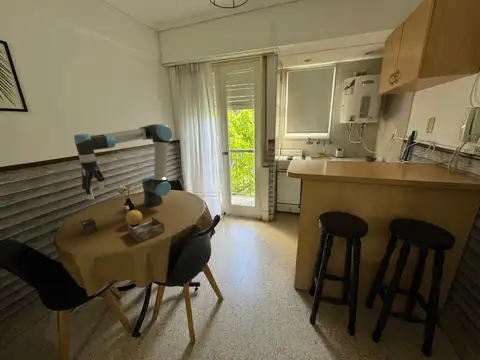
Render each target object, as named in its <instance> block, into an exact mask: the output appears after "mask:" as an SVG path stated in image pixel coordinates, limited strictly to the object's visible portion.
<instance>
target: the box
mask: <svg viewBox="0 0 480 360" xmlns="http://www.w3.org/2000/svg"><path fill="white" fill-rule="evenodd" d="M80 224H81V228H82V231H83V232H84V234H85V235H88V234H91V233H93V232H96V231H98V229H97V225H96V220H95V219H94V218H92V217H90V218H87V219H84V220H80Z"/></svg>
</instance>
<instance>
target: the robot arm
mask: <svg viewBox="0 0 480 360" xmlns="http://www.w3.org/2000/svg"><path fill="white" fill-rule="evenodd" d="M172 137H173V131H172V128H170V126H169V125H167V124H162V123H158V124H149V125H145V126H140V127H139V128H134V129H128V130H122V131H115V132H108V133H102V134H96V135H95V134H91V135H90V134H89V133H80V134H78V133H77V134H75V135H74V136H73V139H74V144H75V147H76V150H77V153H78V158H79V162H80V165H81V168H82V169H83V170H84V171H82V172H81V176H82V179H81V184H82V185H81V187H82V188H81V189H82V190H85V192H86V196H87V199H88V200H94V199H95V197H94V194H93V189H92V188H91V185H92V179H93V178H95V180H97V185H98V189H99V192H105V191H106V189H105V185H104V182H105V177H104V175H103V173H102V172H101V170H100V167H99V166H98V163H97V162H98V161H96V160H97V157H96V155H95V151H96V150H105V149H113V148H115V147H116V145H117V144H123V143H127V142H132V141H138V140H142V141H145V140H152V143H153V144H154V161H153V162H154V169H153V171H154V172H153V174H154V175H151V176H147V177H143V178H142V179H141V185H142V190H143V194H144V195H143V196H144V197H143V200H142V201H143V206H144V207H148V208H151V207H157V206H160V205H161V204H163V203H164V202H163V201H164V200H163V197H164V196H167V195H169V193H170V192H171V189H172V186H171V184H170V183H169V178H168V177H167V158H168V157H167V150H168V145H169V144H170V140H171V139H172Z"/></svg>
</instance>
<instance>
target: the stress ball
mask: <svg viewBox="0 0 480 360" xmlns="http://www.w3.org/2000/svg"><path fill="white" fill-rule="evenodd" d="M142 220H143V214H142V212H141V211H140V210H138V209H132V210H129V211H128V212H127V214H126V215H125V221H126V222H127V223H128V225H130V226H131V225H132V226H138V225H139V224H140V223H141V222H142Z"/></svg>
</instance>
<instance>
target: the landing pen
mask: <svg viewBox="0 0 480 360" xmlns="http://www.w3.org/2000/svg"><path fill="white" fill-rule="evenodd" d="M127 231H128V234H129V235H130V236H131V237H132V238H134V240H135V241H136V242H138V243H142V242H143V240H144V241H145V239H146V240H148V239H151V238H153V237H155V236H157V235H156V234H158V235H160V234H162V233H164V232H163V231H165V232H166V229H165V223H164V222H162V221H161V220H159V219H158V218H157V217H155V216H154V215H152V216H151V220H150V221H149V222H145V223H143V224H140V225H136V226H135V227H133V226H131V224H127ZM161 232H162V233H161ZM159 233H160V234H159ZM154 235H155V236H154ZM152 236H153V237H152ZM150 237H151V238H150Z"/></svg>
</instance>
